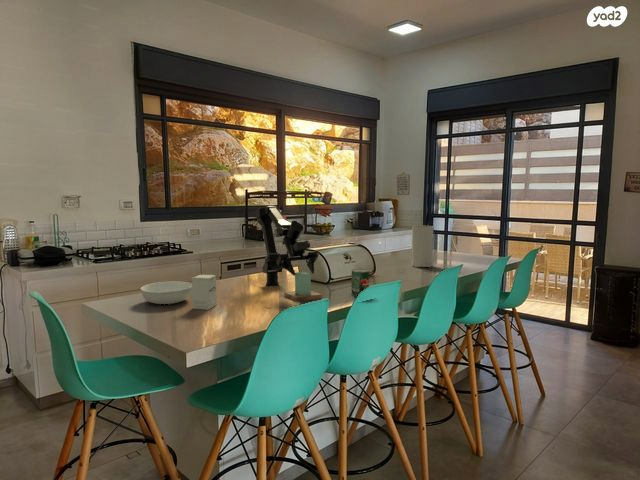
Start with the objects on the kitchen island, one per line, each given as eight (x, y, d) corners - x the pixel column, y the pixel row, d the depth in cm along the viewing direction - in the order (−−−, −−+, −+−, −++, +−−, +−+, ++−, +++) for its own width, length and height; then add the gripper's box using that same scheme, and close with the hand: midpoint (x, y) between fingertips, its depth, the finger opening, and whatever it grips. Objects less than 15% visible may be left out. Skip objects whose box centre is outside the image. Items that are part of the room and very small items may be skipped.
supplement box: (209, 309, 175) (208, 278, 174) (191, 309, 177) (190, 277, 176) (217, 305, 183) (216, 274, 181) (200, 304, 184) (199, 274, 183)
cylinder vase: (431, 268, 269) (432, 227, 267) (410, 267, 274) (410, 226, 271) (433, 265, 281) (434, 225, 278) (413, 264, 285) (414, 225, 283)
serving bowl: (129, 305, 182) (129, 289, 182) (165, 294, 202) (164, 279, 201) (171, 310, 175) (170, 293, 174) (203, 298, 194) (203, 283, 193)
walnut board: (284, 297, 198) (284, 292, 198) (308, 294, 204) (308, 289, 204) (297, 303, 188) (297, 297, 187) (321, 300, 194) (321, 294, 194)
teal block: (295, 293, 196) (294, 272, 195) (305, 291, 199) (304, 271, 198) (300, 295, 192) (300, 274, 191) (310, 293, 195) (310, 273, 194)
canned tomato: (352, 292, 206) (352, 268, 205) (369, 292, 205) (370, 269, 204) (350, 295, 199) (350, 271, 198) (368, 296, 197) (368, 272, 196)
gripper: (278, 235, 192) (290, 264, 183) (316, 233, 201) (329, 261, 193) (271, 251, 199) (282, 280, 191) (308, 249, 209) (320, 276, 200)
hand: (304, 274), depth 194 cm, fingers open, 9 cm apart
